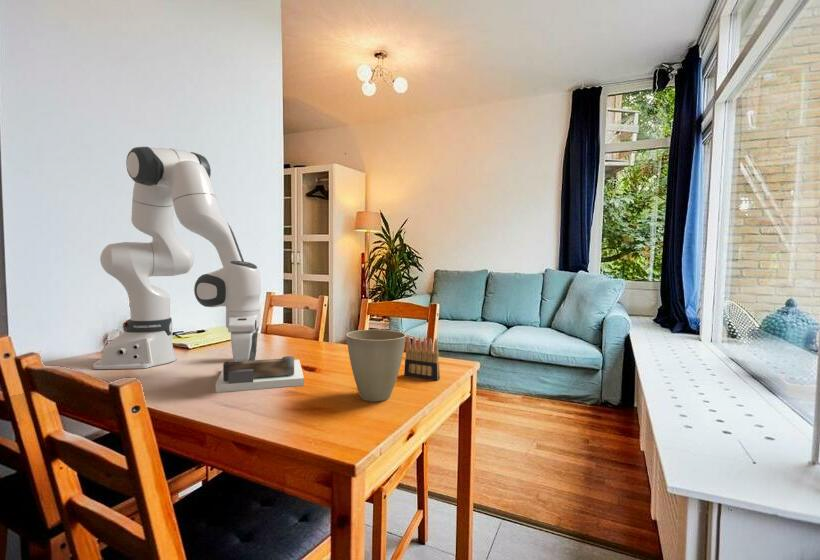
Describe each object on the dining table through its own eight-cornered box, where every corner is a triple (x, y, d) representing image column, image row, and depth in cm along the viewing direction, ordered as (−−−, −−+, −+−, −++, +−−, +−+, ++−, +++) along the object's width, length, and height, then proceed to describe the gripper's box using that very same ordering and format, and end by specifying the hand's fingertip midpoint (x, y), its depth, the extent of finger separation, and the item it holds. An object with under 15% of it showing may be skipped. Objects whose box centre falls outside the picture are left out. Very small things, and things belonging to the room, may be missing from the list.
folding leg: (293, 371, 119) (293, 355, 118) (294, 375, 115) (294, 358, 115) (224, 377, 113) (224, 360, 112) (223, 380, 109) (223, 363, 109)
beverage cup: (263, 357, 145) (263, 300, 144) (253, 363, 137) (253, 302, 136) (243, 357, 145) (242, 299, 144) (232, 362, 138) (231, 301, 137)
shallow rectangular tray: (215, 392, 107) (215, 373, 107) (225, 370, 128) (224, 354, 128) (304, 385, 114) (304, 367, 114) (299, 365, 135) (299, 350, 135)
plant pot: (382, 411, 95) (383, 342, 94) (333, 399, 103) (333, 335, 102) (416, 394, 108) (417, 332, 107) (370, 384, 116) (370, 327, 115)
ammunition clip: (439, 379, 122) (440, 338, 121) (437, 381, 120) (437, 339, 119) (406, 374, 126) (407, 335, 126) (404, 376, 125) (404, 336, 124)
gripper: (234, 315, 124) (234, 361, 125) (227, 326, 104) (227, 381, 105) (256, 315, 126) (256, 360, 127) (254, 326, 106) (254, 379, 107)
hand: (243, 370), depth 116 cm, fingers closed
